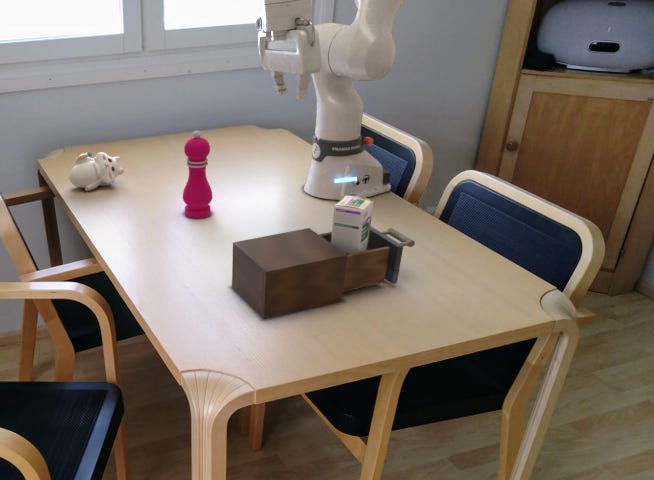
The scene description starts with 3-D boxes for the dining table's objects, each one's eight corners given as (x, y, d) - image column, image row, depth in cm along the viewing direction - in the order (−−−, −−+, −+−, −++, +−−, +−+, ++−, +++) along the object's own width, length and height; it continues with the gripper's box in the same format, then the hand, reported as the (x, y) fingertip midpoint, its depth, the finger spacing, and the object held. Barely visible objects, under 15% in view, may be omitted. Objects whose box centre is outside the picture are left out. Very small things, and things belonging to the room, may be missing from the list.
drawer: (380, 253, 143) (385, 218, 138) (417, 278, 133) (425, 241, 129) (295, 271, 137) (298, 235, 132) (328, 298, 127) (332, 260, 123)
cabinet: (305, 271, 139) (309, 227, 133) (341, 301, 128) (347, 254, 123) (231, 287, 134) (232, 242, 128) (263, 319, 123) (266, 271, 118)
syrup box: (355, 281, 130) (365, 209, 122) (326, 274, 133) (334, 203, 125) (365, 269, 134) (375, 199, 126) (336, 263, 137) (344, 194, 129)
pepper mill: (209, 220, 162) (210, 135, 151) (180, 218, 164) (178, 134, 153) (214, 208, 168) (214, 126, 157) (186, 207, 170) (184, 126, 158)
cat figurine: (65, 156, 176) (118, 141, 180) (61, 164, 184) (112, 150, 188) (77, 192, 177) (130, 176, 181) (73, 198, 185) (123, 183, 189)
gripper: (329, 15, 119) (331, 98, 125) (280, 16, 136) (284, 89, 143) (296, 20, 118) (300, 104, 124) (251, 21, 135) (256, 94, 142)
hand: (291, 96), depth 134 cm, fingers open, 8 cm apart
